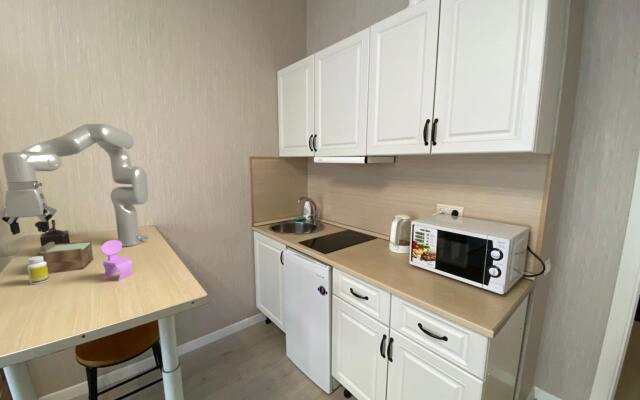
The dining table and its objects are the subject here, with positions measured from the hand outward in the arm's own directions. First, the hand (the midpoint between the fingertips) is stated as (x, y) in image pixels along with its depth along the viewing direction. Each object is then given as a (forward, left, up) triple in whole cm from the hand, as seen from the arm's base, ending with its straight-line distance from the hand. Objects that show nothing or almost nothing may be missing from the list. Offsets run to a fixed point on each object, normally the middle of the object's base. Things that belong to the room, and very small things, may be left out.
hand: (31, 232), depth 104 cm
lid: (-4, -14, -12) cm, 19 cm away
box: (-4, -14, -20) cm, 25 cm away
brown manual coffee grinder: (+9, -37, -20) cm, 43 cm away
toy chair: (-27, +6, -20) cm, 34 cm away
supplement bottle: (0, 0, -20) cm, 20 cm away
